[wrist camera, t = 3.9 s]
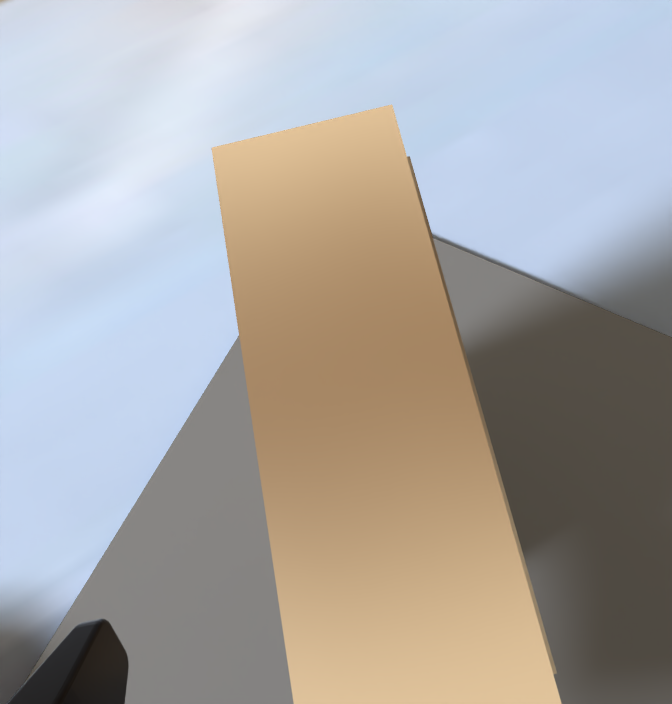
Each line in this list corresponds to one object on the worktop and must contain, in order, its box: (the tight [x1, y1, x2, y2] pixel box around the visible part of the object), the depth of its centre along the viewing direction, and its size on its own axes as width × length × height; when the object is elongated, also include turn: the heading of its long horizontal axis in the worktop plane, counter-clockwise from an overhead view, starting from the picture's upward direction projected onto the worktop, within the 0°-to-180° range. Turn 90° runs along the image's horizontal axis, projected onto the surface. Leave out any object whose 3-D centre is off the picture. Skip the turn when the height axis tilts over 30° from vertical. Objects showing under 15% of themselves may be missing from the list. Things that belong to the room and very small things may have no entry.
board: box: [212, 105, 562, 704], centre depth 11 cm, size 6×2×13 cm, turn 11°
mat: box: [23, 238, 672, 704], centre depth 17 cm, size 19×20×1 cm
